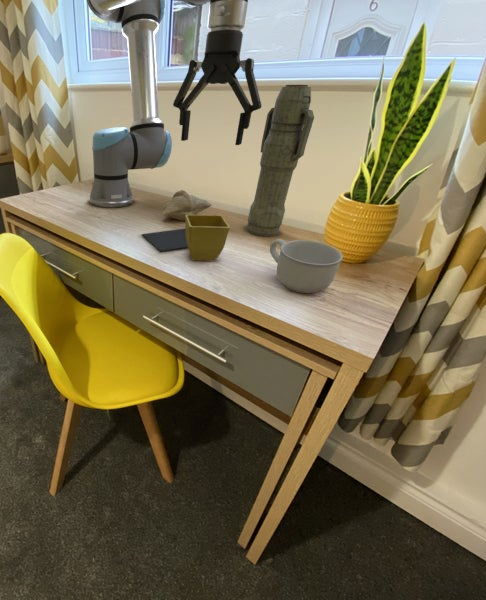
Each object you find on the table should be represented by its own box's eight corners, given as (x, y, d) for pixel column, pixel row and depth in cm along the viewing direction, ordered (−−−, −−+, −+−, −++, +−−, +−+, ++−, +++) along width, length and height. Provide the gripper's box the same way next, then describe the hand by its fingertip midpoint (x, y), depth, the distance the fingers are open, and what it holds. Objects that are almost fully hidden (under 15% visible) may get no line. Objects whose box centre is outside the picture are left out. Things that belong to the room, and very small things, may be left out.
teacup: (341, 294, 65) (357, 257, 60) (298, 304, 61) (311, 265, 57) (290, 264, 76) (300, 231, 71) (250, 271, 73) (258, 237, 68)
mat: (141, 235, 90) (141, 234, 90) (193, 228, 95) (193, 227, 95) (160, 252, 81) (160, 250, 81) (216, 244, 86) (216, 242, 85)
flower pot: (181, 249, 83) (185, 213, 78) (216, 249, 83) (222, 214, 78) (185, 264, 75) (189, 226, 71) (223, 265, 75) (230, 227, 70)
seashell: (170, 209, 93) (176, 178, 95) (153, 219, 101) (160, 191, 103) (209, 227, 99) (214, 197, 101) (191, 236, 107) (196, 208, 109)
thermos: (272, 240, 88) (312, 84, 69) (235, 228, 96) (263, 84, 77) (290, 233, 92) (332, 85, 74) (254, 222, 100) (284, 85, 82)
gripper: (163, 32, 72) (157, 140, 83) (285, 23, 61) (259, 148, 73) (177, 36, 77) (170, 137, 89) (291, 29, 67) (266, 144, 78)
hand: (210, 142), depth 81 cm, fingers open, 13 cm apart
